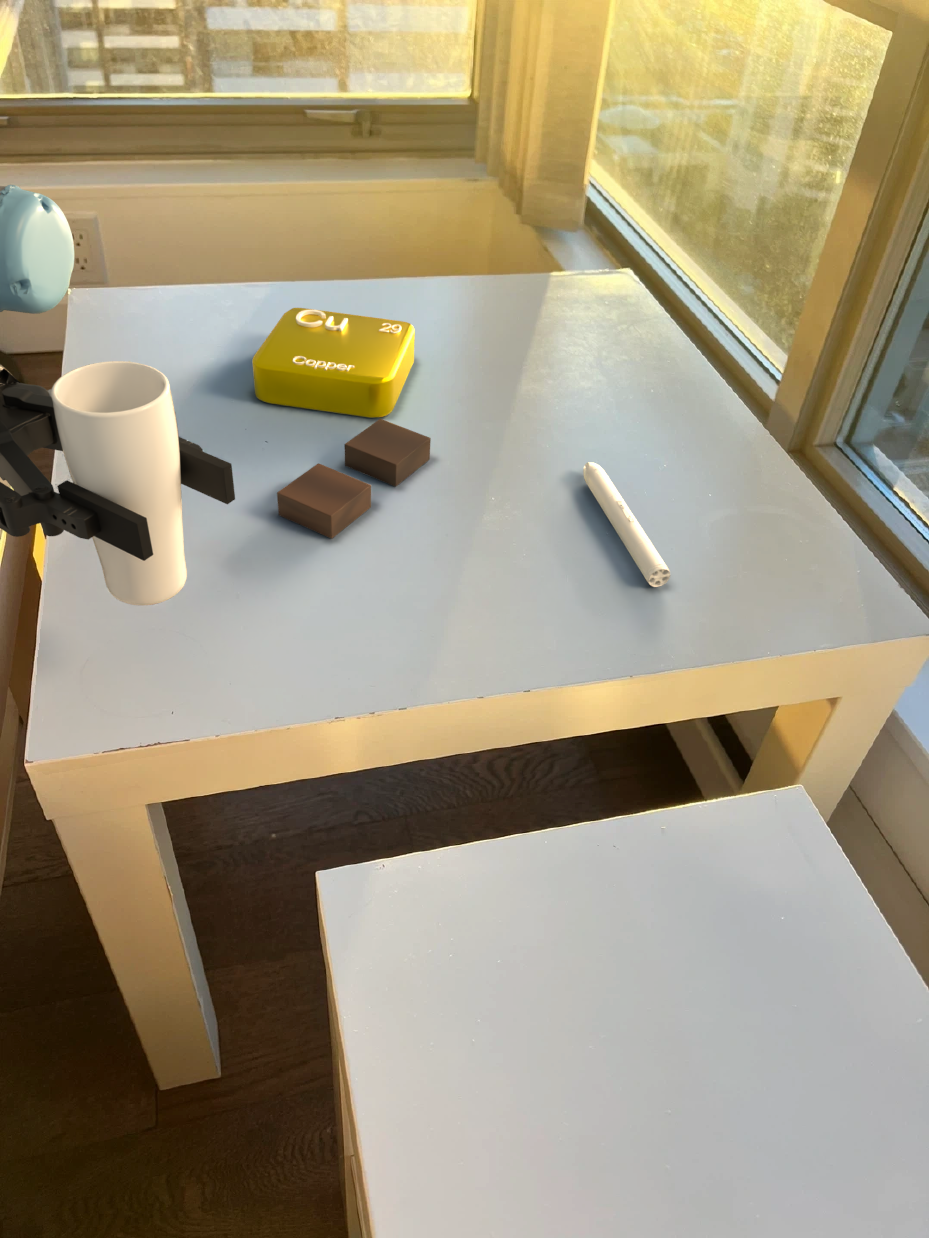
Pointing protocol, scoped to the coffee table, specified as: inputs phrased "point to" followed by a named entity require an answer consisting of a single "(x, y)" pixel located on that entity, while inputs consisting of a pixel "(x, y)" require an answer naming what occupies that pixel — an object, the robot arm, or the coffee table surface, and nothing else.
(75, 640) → the coffee table surface
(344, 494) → the walnut block near
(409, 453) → the walnut block far
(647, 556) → the marker
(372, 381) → the element tile
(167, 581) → the drinking glass
